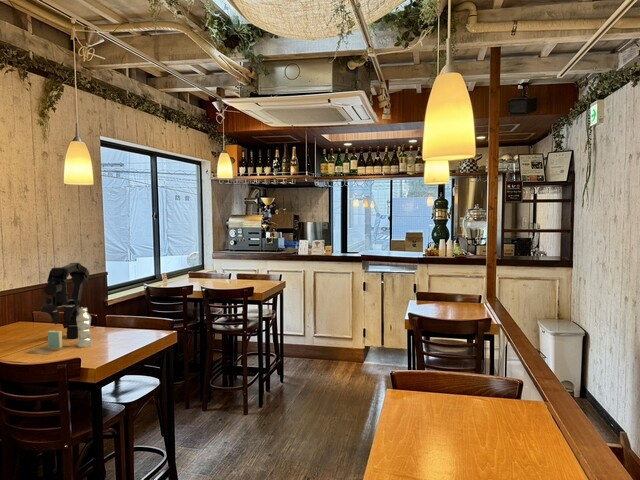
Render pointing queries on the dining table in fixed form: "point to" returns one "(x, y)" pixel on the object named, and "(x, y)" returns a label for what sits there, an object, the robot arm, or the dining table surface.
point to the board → (46, 350)
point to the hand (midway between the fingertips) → (62, 322)
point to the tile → (55, 339)
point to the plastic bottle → (84, 328)
